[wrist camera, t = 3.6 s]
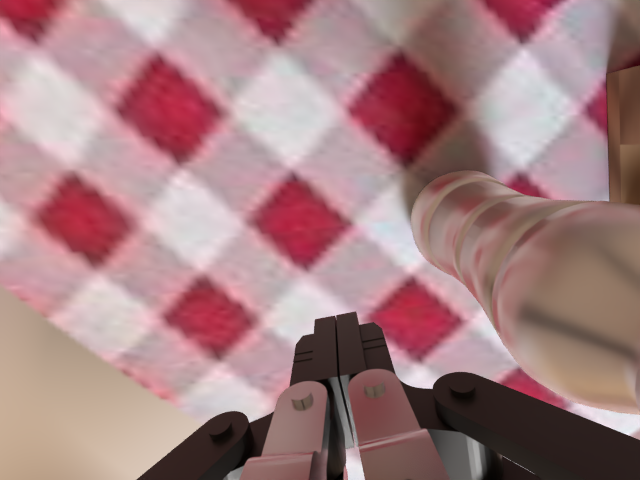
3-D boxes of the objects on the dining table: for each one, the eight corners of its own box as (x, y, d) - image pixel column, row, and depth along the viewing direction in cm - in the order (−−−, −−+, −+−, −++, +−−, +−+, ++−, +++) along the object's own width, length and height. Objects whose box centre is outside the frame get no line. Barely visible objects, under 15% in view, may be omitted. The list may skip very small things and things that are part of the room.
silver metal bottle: (490, 158, 24) (1107, 205, 5) (499, 251, 26) (994, 552, 7) (396, 178, 25) (639, 293, 6) (411, 269, 27) (638, 597, 7)
